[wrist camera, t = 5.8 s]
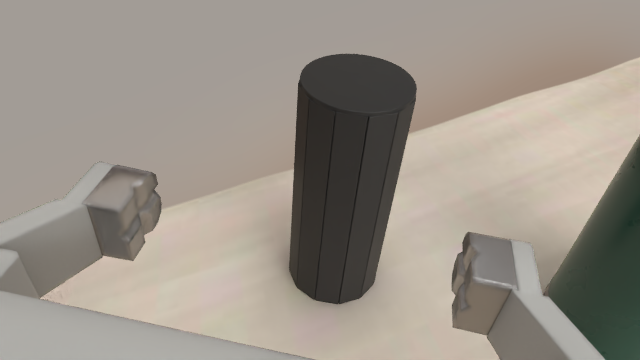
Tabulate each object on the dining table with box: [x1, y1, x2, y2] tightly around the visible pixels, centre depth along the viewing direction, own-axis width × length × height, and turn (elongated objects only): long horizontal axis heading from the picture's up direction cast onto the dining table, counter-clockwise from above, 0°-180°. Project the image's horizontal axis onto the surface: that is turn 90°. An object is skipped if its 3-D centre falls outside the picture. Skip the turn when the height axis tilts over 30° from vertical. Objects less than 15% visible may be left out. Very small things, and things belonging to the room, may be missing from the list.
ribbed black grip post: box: [289, 54, 417, 304], centre depth 28 cm, size 6×6×14 cm
